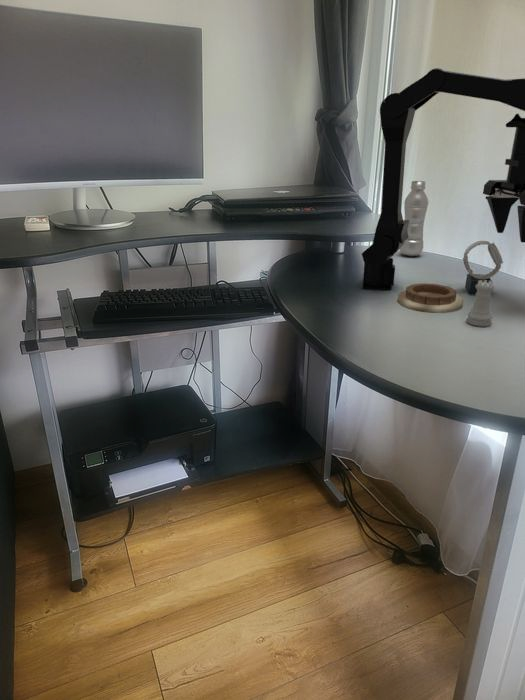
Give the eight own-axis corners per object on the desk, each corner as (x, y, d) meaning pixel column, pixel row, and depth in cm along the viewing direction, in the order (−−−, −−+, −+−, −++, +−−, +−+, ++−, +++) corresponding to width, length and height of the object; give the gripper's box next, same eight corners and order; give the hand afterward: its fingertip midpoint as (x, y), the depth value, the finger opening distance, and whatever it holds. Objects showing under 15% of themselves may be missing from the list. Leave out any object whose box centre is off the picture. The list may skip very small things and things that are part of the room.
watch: (499, 296, 111) (509, 245, 106) (460, 294, 112) (468, 243, 108) (494, 288, 116) (503, 239, 111) (456, 286, 117) (464, 238, 113)
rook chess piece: (493, 321, 96) (501, 280, 93) (488, 329, 93) (496, 286, 90) (468, 317, 99) (475, 277, 95) (463, 324, 95) (470, 283, 92)
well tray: (398, 310, 103) (399, 297, 102) (396, 291, 114) (398, 280, 113) (466, 314, 100) (468, 301, 99) (458, 294, 112) (459, 283, 111)
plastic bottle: (399, 258, 143) (407, 183, 135) (397, 252, 149) (405, 180, 141) (423, 258, 142) (432, 183, 134) (420, 253, 148) (429, 180, 140)
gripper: (602, 157, 88) (579, 247, 94) (541, 151, 105) (525, 228, 111) (540, 157, 87) (521, 248, 94) (488, 151, 104) (475, 228, 111)
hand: (511, 237), depth 102 cm, fingers open, 9 cm apart
